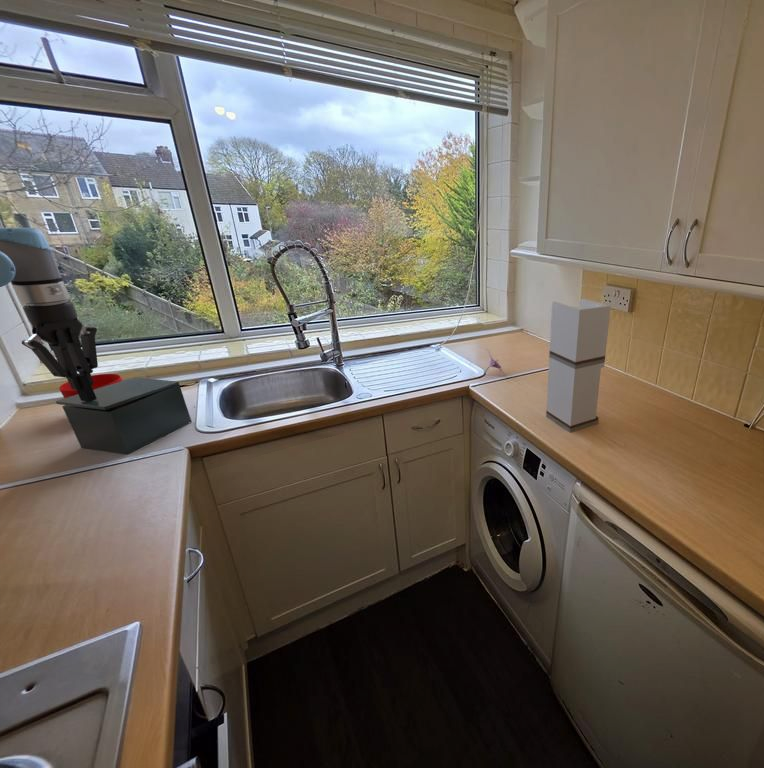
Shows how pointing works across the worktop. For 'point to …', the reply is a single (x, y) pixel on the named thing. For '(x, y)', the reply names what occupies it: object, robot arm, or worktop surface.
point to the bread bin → (129, 422)
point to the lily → (494, 364)
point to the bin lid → (120, 393)
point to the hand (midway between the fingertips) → (89, 399)
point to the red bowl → (98, 383)
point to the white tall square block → (576, 362)
